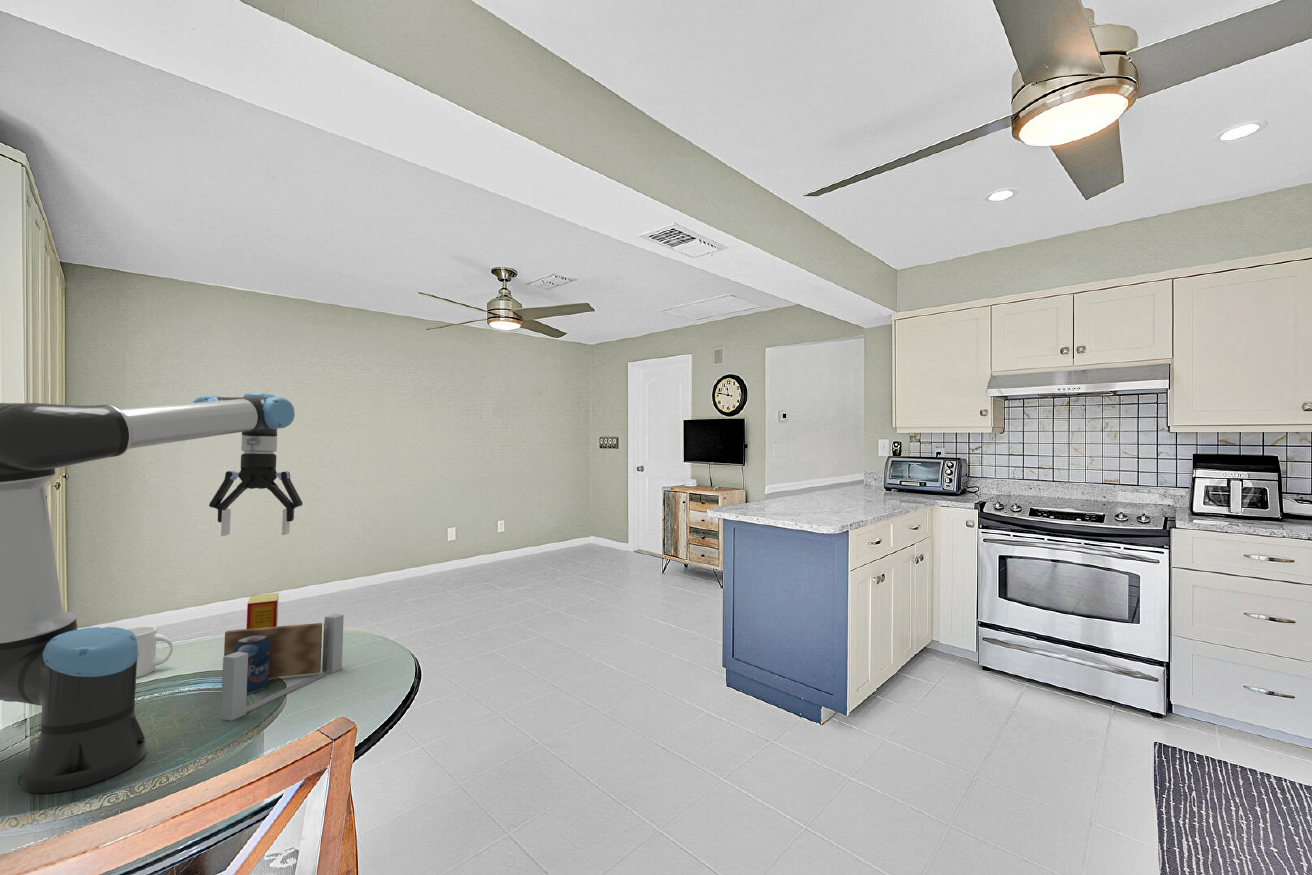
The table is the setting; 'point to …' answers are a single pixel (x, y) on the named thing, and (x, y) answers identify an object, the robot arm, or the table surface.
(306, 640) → the door
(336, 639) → the gray u-shaped frame
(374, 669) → the table surface
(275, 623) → the baking soda box
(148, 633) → the mug
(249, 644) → the soda can
